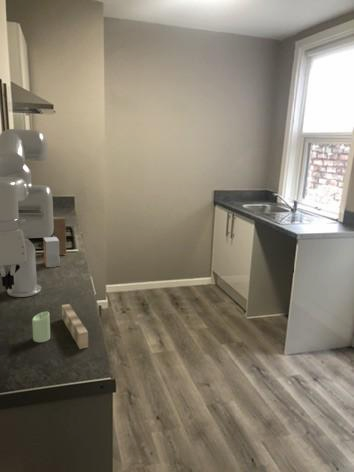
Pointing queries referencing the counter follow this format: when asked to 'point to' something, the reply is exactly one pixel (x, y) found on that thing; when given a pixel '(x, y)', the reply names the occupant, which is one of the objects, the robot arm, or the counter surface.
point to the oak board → (75, 326)
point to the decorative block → (60, 233)
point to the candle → (41, 327)
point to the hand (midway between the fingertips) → (8, 287)
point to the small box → (51, 251)
